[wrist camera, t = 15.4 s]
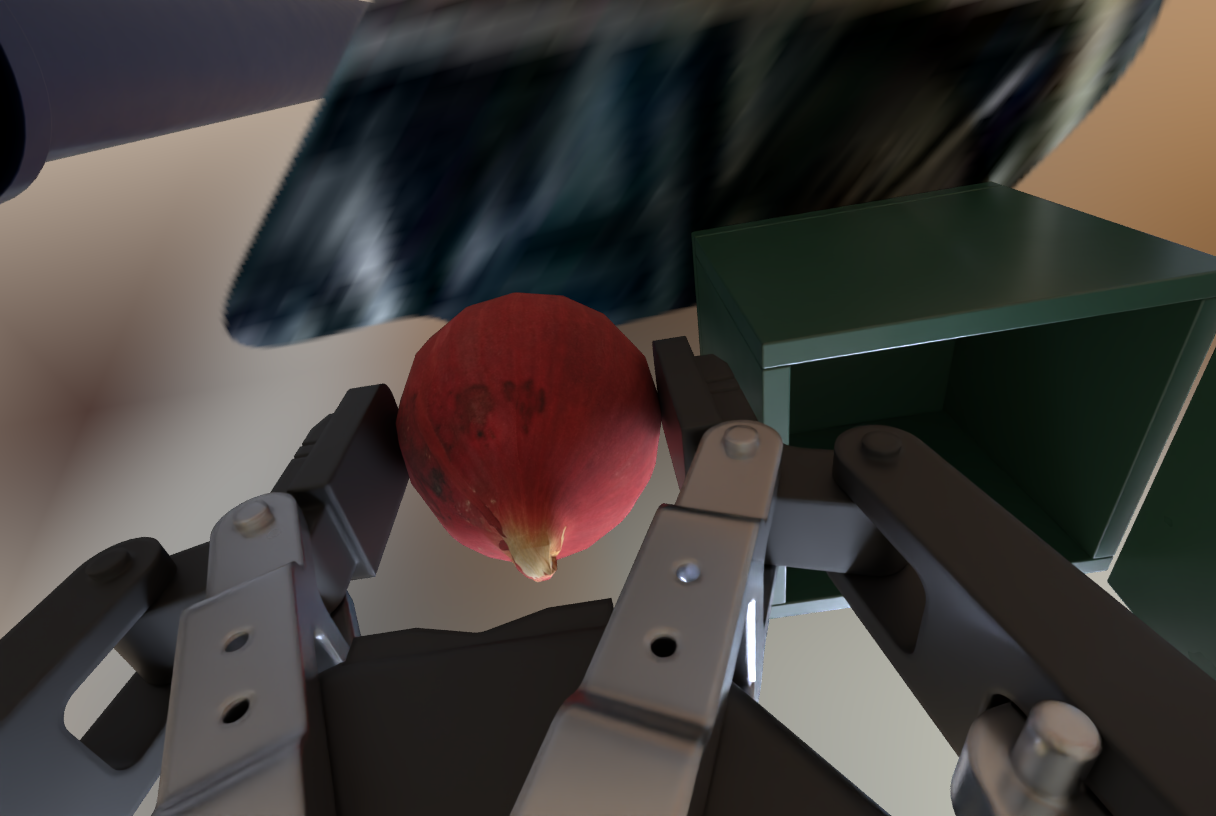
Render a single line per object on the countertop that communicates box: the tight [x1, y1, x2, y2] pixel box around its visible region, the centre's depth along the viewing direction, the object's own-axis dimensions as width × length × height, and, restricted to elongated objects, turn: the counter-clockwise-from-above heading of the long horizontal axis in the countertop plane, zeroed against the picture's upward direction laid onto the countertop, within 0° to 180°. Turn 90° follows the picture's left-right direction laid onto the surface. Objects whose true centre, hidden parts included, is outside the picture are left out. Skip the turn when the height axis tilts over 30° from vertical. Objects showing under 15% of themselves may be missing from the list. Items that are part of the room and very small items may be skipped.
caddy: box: [691, 182, 1216, 619], centre depth 23 cm, size 13×12×11 cm
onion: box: [396, 293, 662, 582], centre depth 13 cm, size 6×6×8 cm
